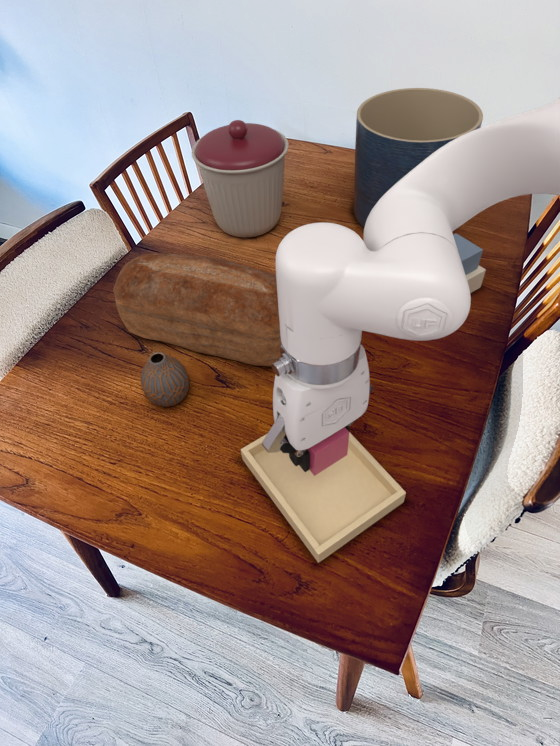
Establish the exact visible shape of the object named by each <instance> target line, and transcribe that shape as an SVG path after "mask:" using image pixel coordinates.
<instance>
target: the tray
mask: <svg viewBox="0 0 560 746" xmlns="http://www.w3.org/2000/svg"><path fill="white" fill-rule="evenodd" d="M267 434H268V433H266V434H264V435H262V436H260V437H259V438H257V439H256V440H254V441H253V442H251V443H249V444H247V445H245V446H244V447H242V448H240V453H241V455H240V456H241V460H242V461H243V462H244V464H245V466H246V467H247V468H248V469H249V471H250V472H251V473H252V475H253V476H254V477H255V479H256V481H258V483H259V484H260V486H261V487H262V488H263V490H264V491H265V493H266V494H267V495H268V497H269V498H270V499H271V500H272V502H273V503H274V505H275V506H276V508H277V509H278V510H279V511H280V513H281V514H282V515H283V517H284V518H285V520H286V521H287V522H288V524H289V525H290V527H291V528H292V530H293V531H295V533H296V535H297V536H298V537H299V539H300V540H301V541H302V543H303V545H304V546H306V548H307V550H308V551H309V552H310V554H311V555H312V557H313V558H314V559H315V560H316V562H317V563H318V564H319V563H321V562H322V561H323V560H325V559H326V558H328V557H329V556H331V555H332V554H333V553H335V552H336V551H337V550H339V549H341V548H342V547H343V546H344V545H346V544H347V543H348V542H350V541H351V540H353V539H355V538H356V537H357V536H358V535H360V534H361V533H363V532H364V531H366V530H368V528H370V527H371V526H372V525H374V524H376V523H377V522H378V521H380V520H381V519H382V518H384V517H385V516H386V515H388V514H389V513H391V512H392V511H393V510H395V509H396V508H398V507H399V506H401V505H402V504H403V503H404V502H405V498H406V496H407V495H406V494H407V492H406V490H404V489H403V488H402V486H401V485H400V484H399V483H398V482H397V481H396V480H395V479H394V477H392V476H391V474H389V472H387V470H386V469H385V468H384V467H383V466H382V465H381V464H380V463H379V461H377V460H376V458H375V457H374V456H373V455H372V454H371V453H370V452H369V451H368V450H367V449H366V448H365V447H364V446H363V445H362V444H361V443H360V441H359V440H358V439H357V438H356V437H355V436H354V435H353V434H352V433H351V432H350V431H349V441H348V452H347V456H345V457H343V458H342V459H340V460H339V461H337V462H336V463H334V464H333V465H331V466H329V467H328V468H326V469H325V470H323V471H322V472H320V473H318V474H317V475H315V476H314V475H313V474H312V472H311V471H310V470H308V471H307V472H304V471H303V469H302V468H301V467H300V466H299V465H298V466H295V465H294V464H293V463H292V461H291V460H290V457H289V453H283V452H282V451H279V452H274V453H268V452H267V451H266V449H265V448H264V447H263V445H262V442H263V440H264V439H265V437H266V435H267Z"/></svg>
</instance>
